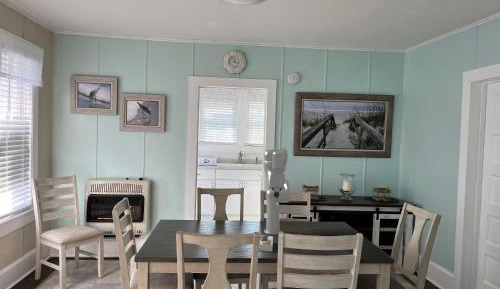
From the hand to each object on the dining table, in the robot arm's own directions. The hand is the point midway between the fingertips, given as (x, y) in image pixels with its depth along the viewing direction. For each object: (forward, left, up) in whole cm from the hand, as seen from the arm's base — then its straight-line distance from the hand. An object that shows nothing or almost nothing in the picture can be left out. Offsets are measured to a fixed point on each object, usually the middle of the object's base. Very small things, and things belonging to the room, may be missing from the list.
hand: (276, 197), depth 255 cm
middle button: (+13, -6, -25) cm, 29 cm away
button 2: (+20, -5, -27) cm, 34 cm away
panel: (+13, -6, -29) cm, 33 cm away
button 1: (+7, -8, -27) cm, 29 cm away
